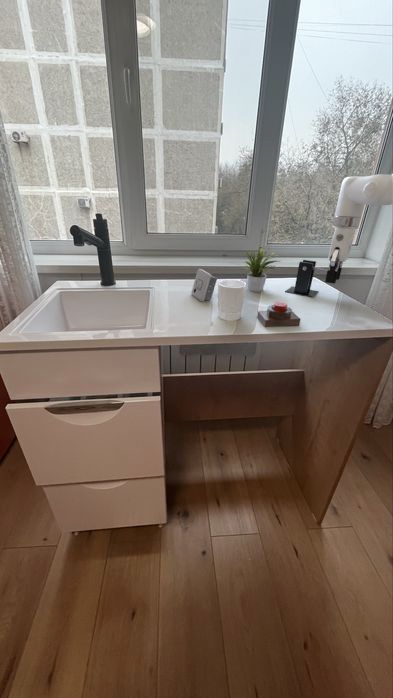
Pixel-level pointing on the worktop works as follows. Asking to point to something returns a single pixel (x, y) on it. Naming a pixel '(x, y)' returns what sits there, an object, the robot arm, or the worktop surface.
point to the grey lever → (319, 270)
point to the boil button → (280, 306)
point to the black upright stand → (304, 280)
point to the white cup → (230, 299)
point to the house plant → (258, 270)
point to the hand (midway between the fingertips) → (332, 280)
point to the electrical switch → (203, 285)
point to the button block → (278, 318)
